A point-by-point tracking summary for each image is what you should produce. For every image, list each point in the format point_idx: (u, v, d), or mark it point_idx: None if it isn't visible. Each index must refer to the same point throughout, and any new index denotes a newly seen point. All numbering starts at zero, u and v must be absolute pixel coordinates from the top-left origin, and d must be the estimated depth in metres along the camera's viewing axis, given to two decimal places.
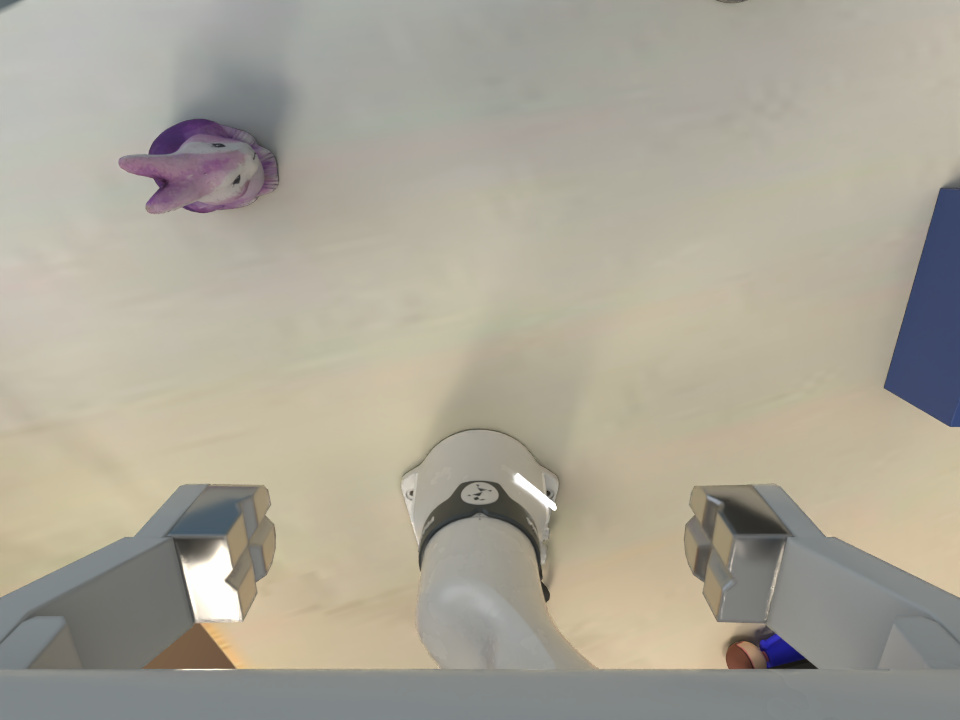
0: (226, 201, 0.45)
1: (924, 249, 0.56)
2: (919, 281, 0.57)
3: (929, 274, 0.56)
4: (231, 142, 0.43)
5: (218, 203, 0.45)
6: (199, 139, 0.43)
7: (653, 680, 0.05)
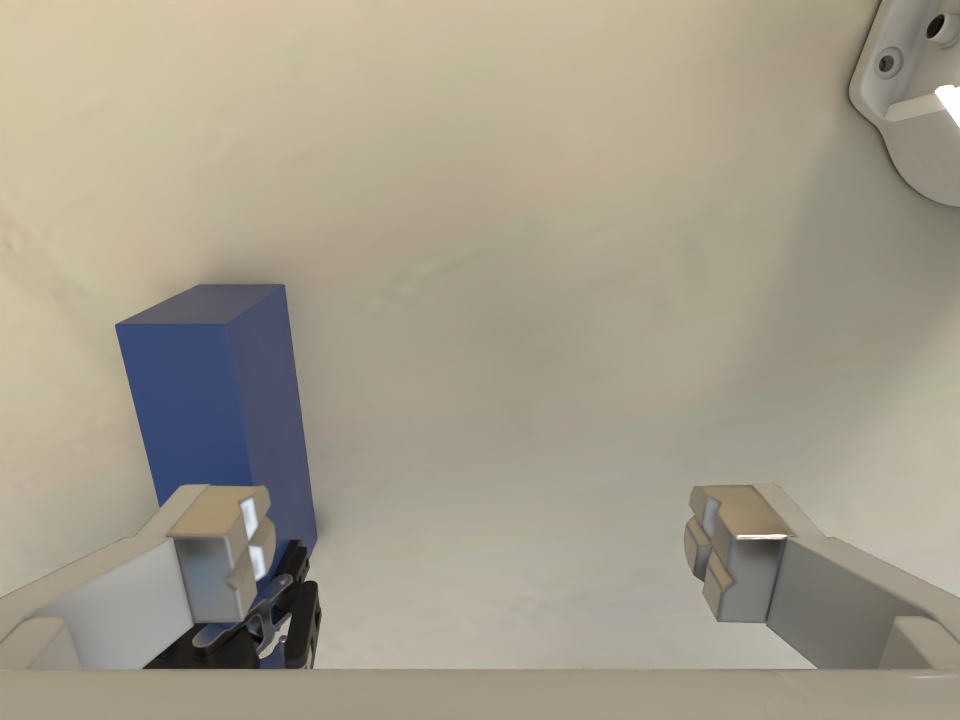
0: None
1: (308, 477, 0.43)
2: (302, 447, 0.42)
3: (299, 464, 0.41)
4: None
5: None
6: None
7: (653, 680, 0.05)
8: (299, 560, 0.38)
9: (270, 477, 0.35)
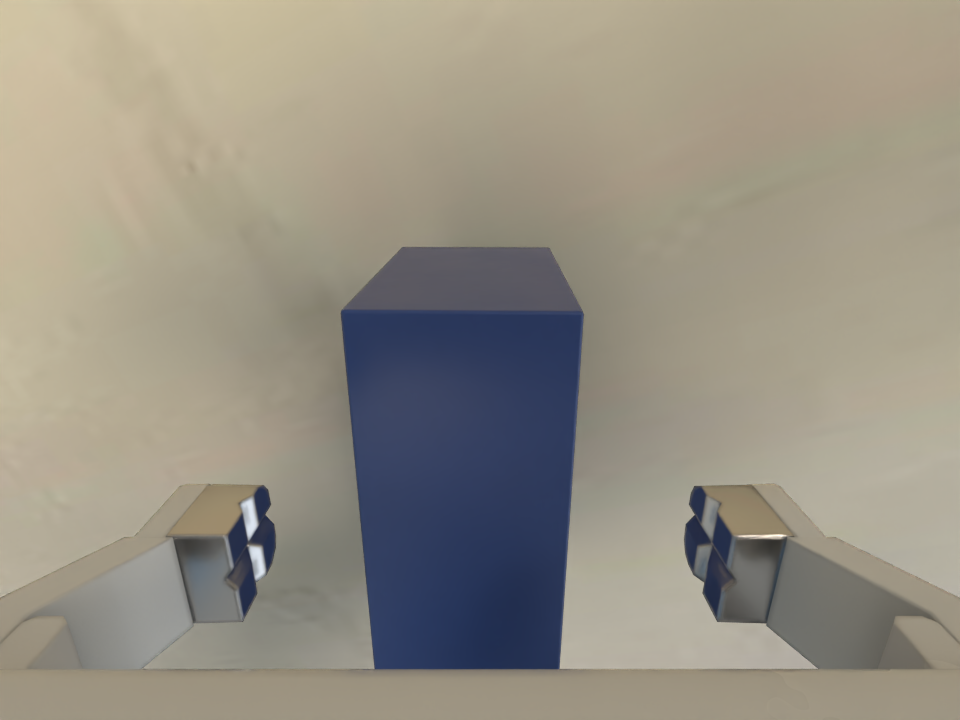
0: None
1: None
2: None
3: None
4: None
5: None
6: None
7: (653, 680, 0.05)
8: None
9: None
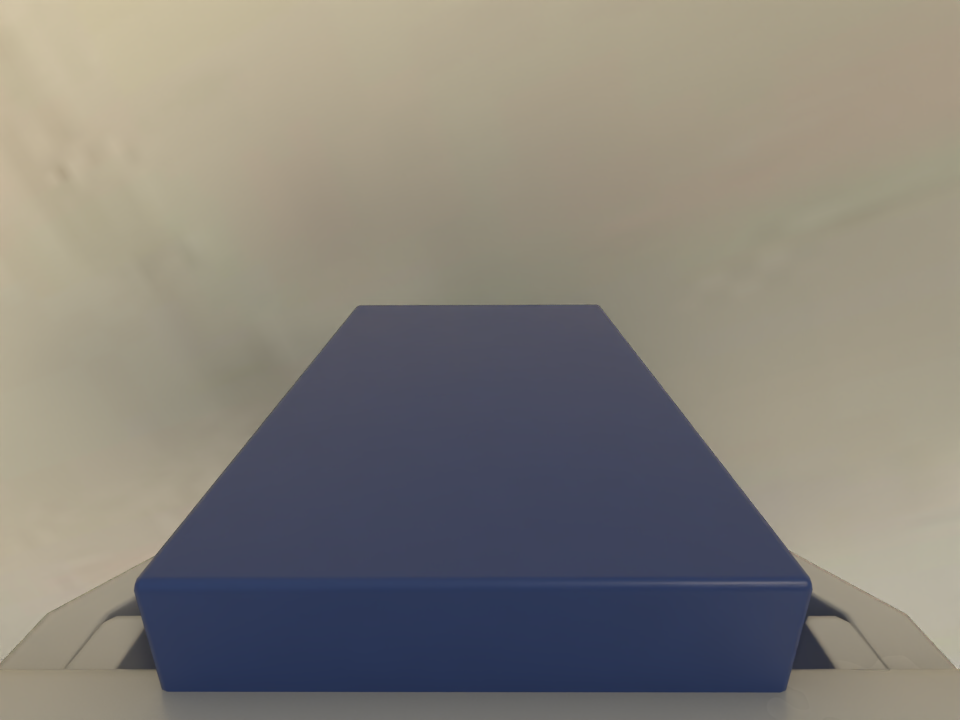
0: None
1: None
2: None
3: None
4: None
5: None
6: None
7: None
8: None
9: None
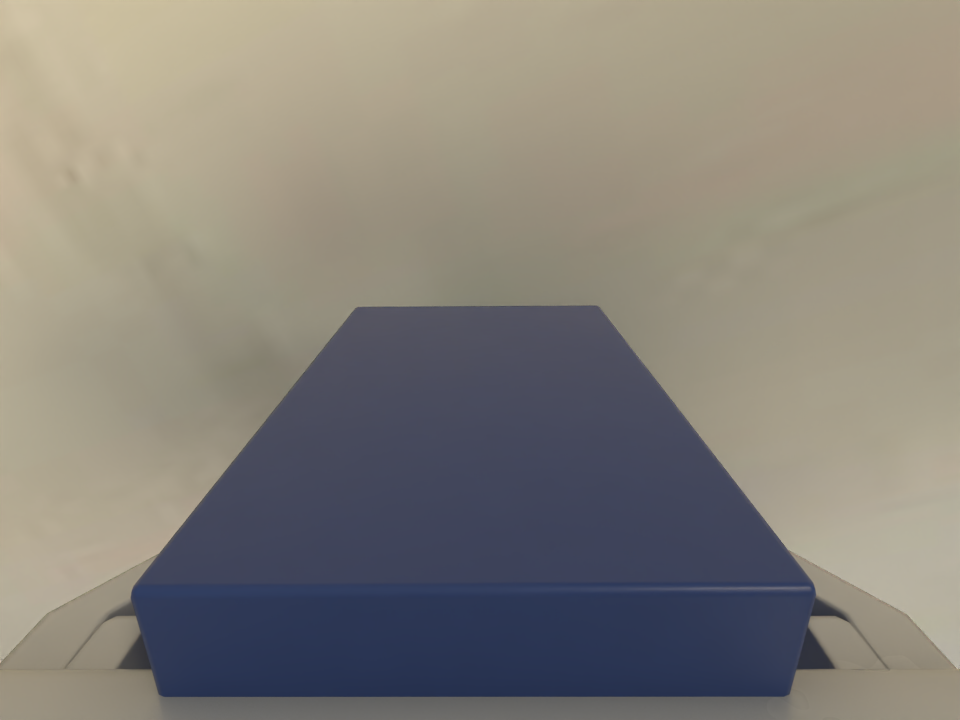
0: None
1: None
2: None
3: None
4: None
5: None
6: None
7: None
8: None
9: None
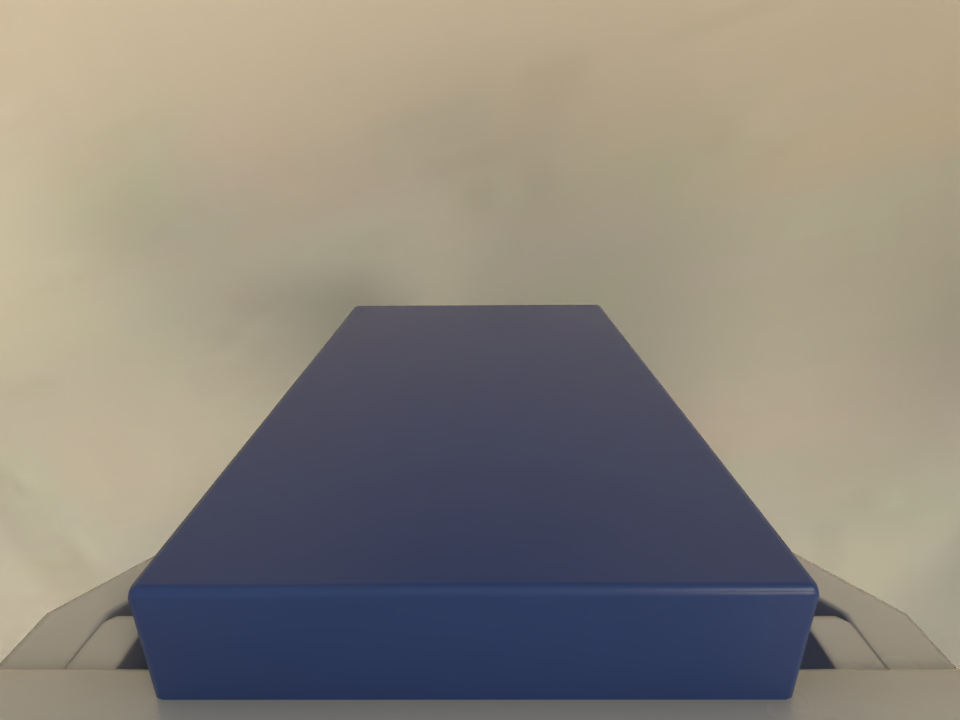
0: None
1: None
2: None
3: None
4: None
5: None
6: None
7: None
8: None
9: None
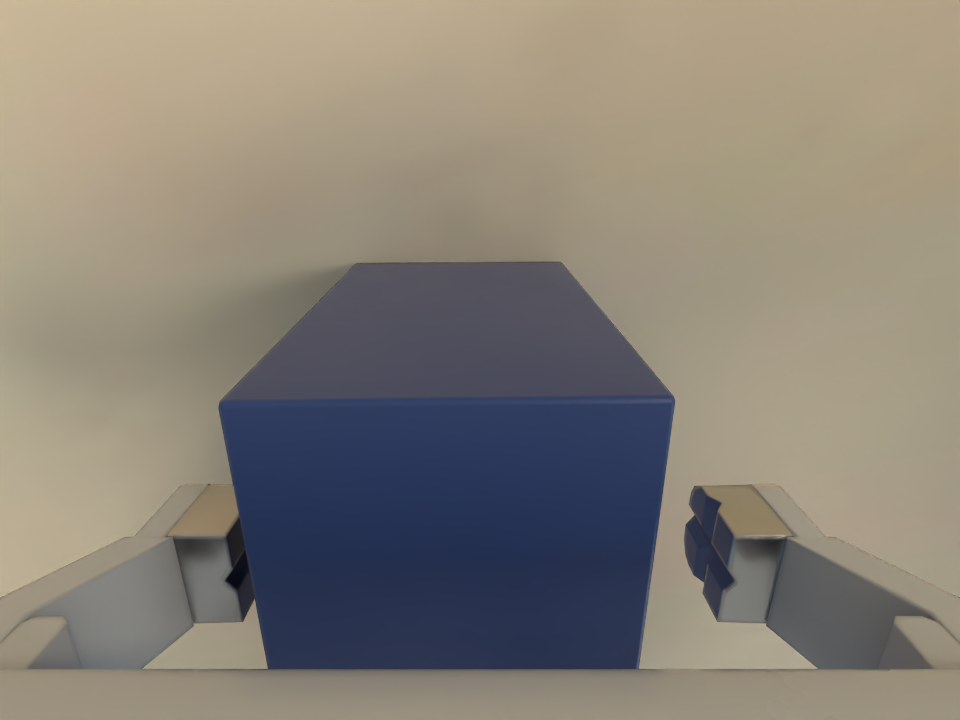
0: None
1: None
2: None
3: None
4: None
5: None
6: None
7: (653, 680, 0.05)
8: None
9: None
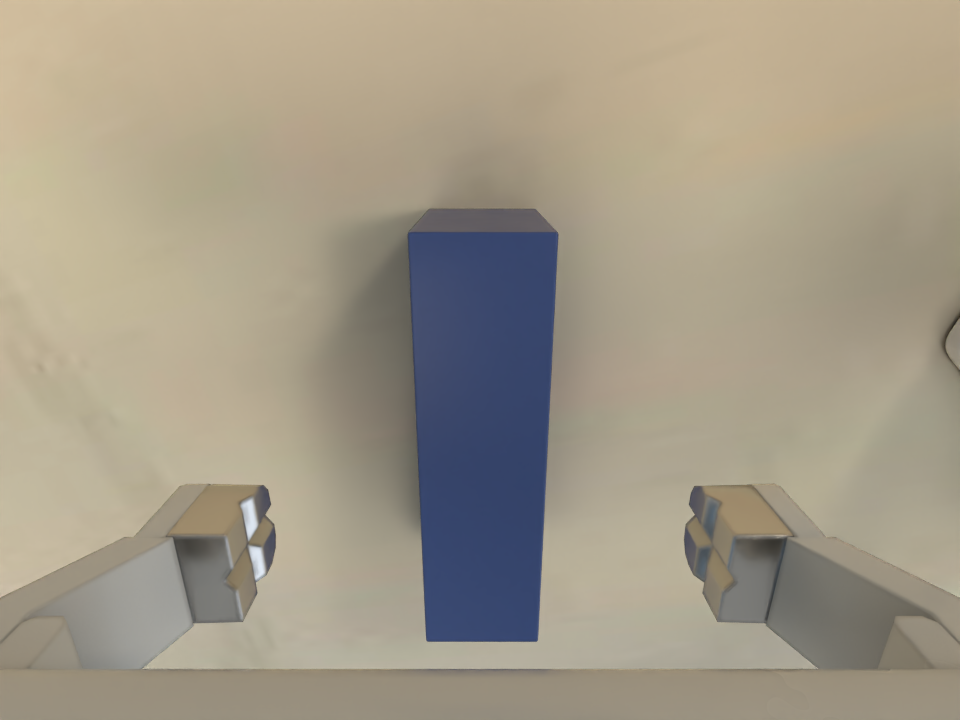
0: None
1: None
2: None
3: None
4: None
5: None
6: None
7: (653, 680, 0.05)
8: None
9: None
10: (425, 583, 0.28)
